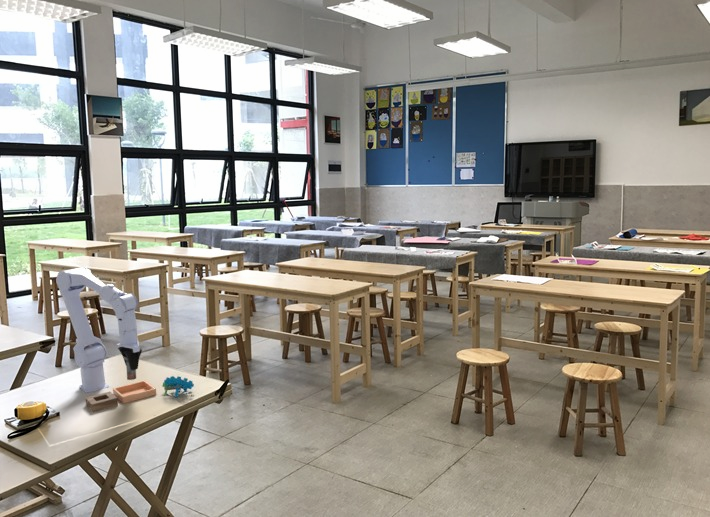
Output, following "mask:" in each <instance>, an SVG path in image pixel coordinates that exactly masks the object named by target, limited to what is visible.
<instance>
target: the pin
mask: <svg viewBox="0 0 710 517" xmlns="http://www.w3.org/2000/svg"><path fill="white" fill-rule="evenodd" d="M124 360H126V364H125V366H126V380H129V381H133V380H136V379H137V369H136V370H131V369H130V366H129V362H128V359H127V357H126V356H124V358H123V361H124Z"/></svg>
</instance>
